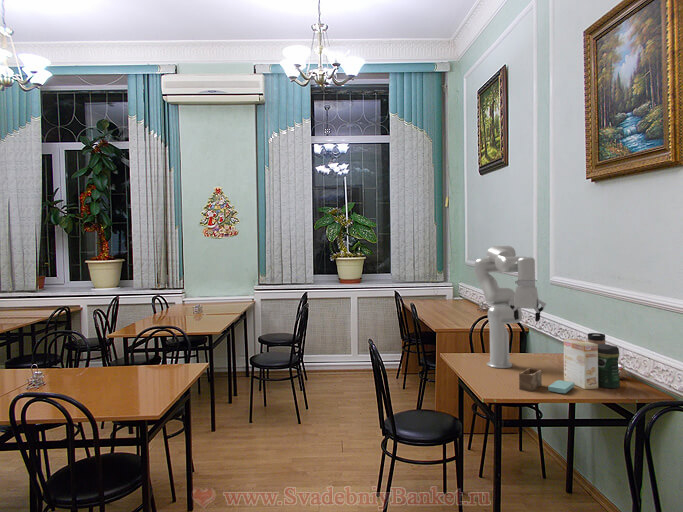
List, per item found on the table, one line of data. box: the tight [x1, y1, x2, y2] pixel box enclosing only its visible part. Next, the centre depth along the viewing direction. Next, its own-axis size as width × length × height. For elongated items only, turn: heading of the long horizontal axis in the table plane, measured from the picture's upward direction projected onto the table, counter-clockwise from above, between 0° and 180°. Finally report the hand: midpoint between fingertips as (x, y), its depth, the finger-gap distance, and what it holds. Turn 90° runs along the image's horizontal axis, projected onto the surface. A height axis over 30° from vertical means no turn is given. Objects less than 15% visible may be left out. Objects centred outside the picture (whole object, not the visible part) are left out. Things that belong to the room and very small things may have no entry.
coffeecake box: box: [563, 338, 599, 390], centre depth 224 cm, size 15×7×20 cm, turn 10°
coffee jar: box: [598, 343, 621, 389], centre depth 221 cm, size 10×8×19 cm
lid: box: [547, 379, 575, 394], centre depth 216 cm, size 13×7×3 cm, turn 139°
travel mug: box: [587, 332, 606, 344], centre depth 238 cm, size 8×8×20 cm
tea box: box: [518, 367, 543, 392], centre depth 221 cm, size 12×6×7 cm, turn 140°
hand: (526, 320), depth 231 cm, fingers open, 9 cm apart
